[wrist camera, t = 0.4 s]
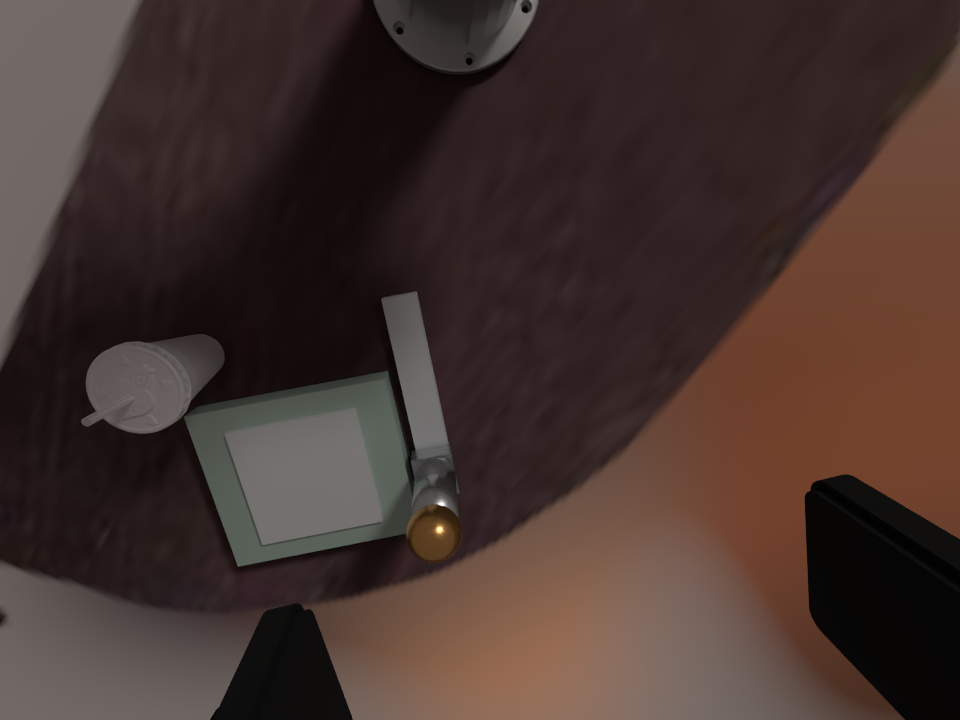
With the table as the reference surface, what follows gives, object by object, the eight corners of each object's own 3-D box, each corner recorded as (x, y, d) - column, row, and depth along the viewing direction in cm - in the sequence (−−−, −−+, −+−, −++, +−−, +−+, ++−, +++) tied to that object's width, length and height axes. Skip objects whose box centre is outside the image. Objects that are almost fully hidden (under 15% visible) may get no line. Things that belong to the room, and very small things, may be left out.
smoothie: (150, 365, 42) (13, 429, 29) (184, 303, 41) (59, 340, 28) (219, 403, 44) (119, 482, 30) (254, 344, 42) (167, 399, 29)
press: (173, 335, 42) (153, 343, 39) (416, 291, 42) (415, 295, 39) (248, 549, 47) (235, 570, 45) (461, 507, 48) (463, 525, 45)
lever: (409, 451, 45) (398, 531, 33) (453, 443, 45) (457, 519, 33) (418, 489, 46) (411, 580, 34) (460, 481, 46) (467, 569, 34)
